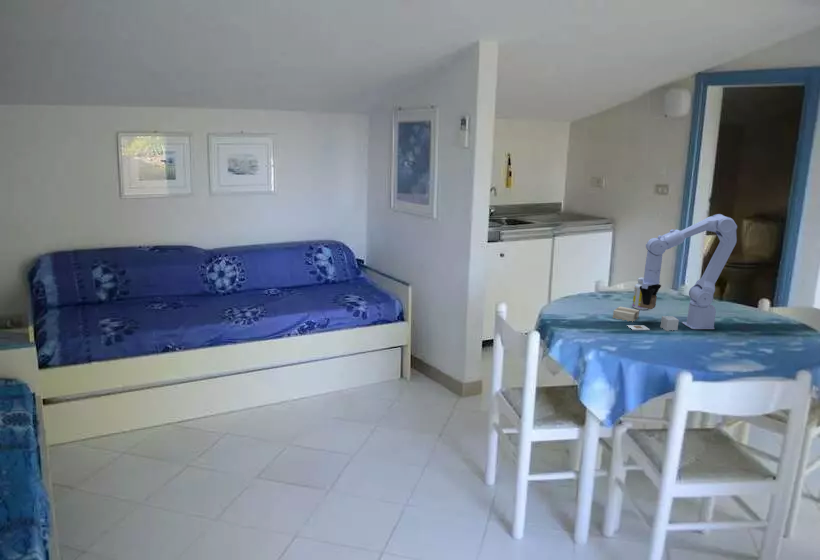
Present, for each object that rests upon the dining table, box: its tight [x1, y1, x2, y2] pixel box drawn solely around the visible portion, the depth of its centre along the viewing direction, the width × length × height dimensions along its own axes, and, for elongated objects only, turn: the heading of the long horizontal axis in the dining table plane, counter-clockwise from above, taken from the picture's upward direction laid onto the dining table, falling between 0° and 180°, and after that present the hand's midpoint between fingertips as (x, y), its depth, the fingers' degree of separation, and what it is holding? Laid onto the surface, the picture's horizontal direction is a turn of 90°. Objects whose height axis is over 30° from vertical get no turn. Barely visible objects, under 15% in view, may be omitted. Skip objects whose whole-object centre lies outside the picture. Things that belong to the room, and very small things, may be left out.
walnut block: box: [640, 295, 658, 310], centre depth 257 cm, size 4×4×4 cm
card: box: [626, 324, 650, 331], centre depth 253 cm, size 7×5×1 cm
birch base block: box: [612, 306, 640, 323], centre depth 265 cm, size 8×8×4 cm
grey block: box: [659, 315, 680, 332], centre depth 253 cm, size 4×4×4 cm
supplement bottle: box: [631, 277, 649, 311], centre depth 279 cm, size 7×7×13 cm
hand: (648, 303), depth 258 cm, fingers closed on walnut block, 4 cm apart
